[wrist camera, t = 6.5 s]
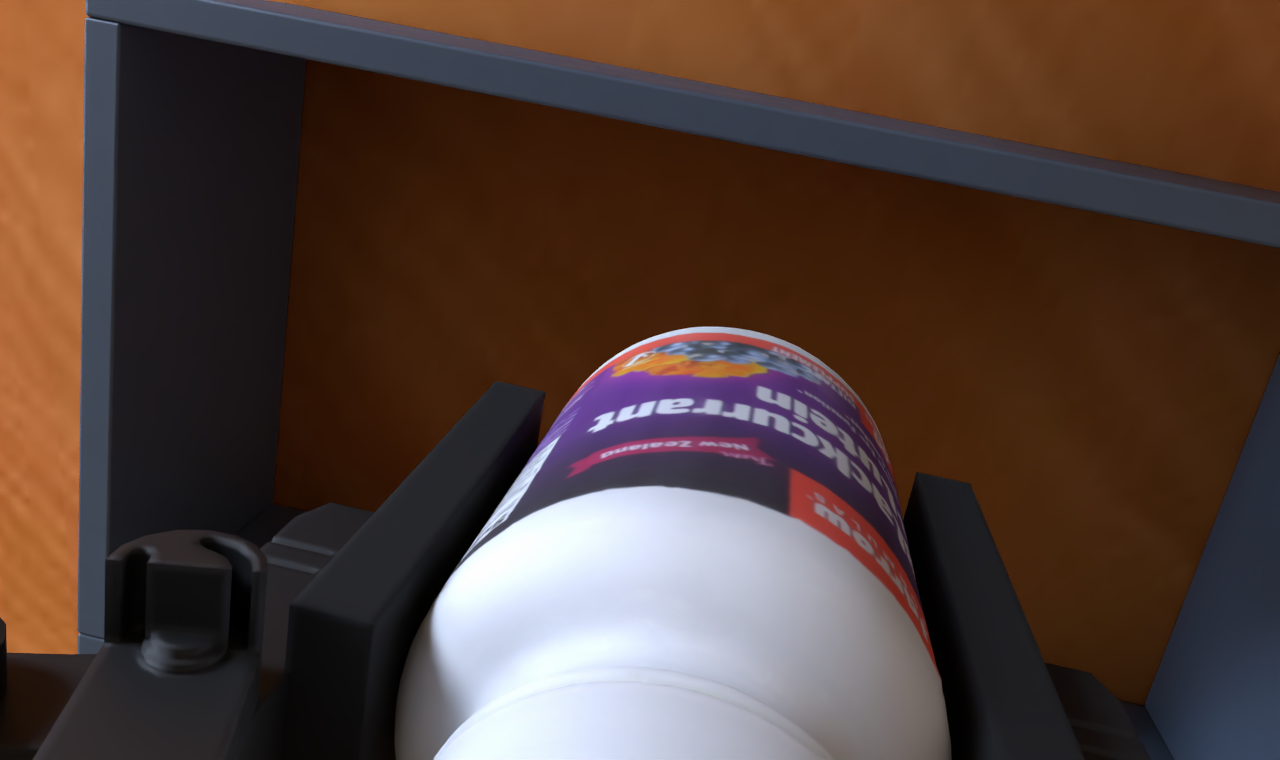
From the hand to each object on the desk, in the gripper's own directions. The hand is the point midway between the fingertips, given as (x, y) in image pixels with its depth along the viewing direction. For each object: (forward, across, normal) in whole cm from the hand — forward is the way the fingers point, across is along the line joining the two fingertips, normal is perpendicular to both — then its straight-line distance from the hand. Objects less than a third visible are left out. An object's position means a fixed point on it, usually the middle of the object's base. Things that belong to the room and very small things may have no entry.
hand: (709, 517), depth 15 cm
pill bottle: (+2, 0, 0) cm, 2 cm away
